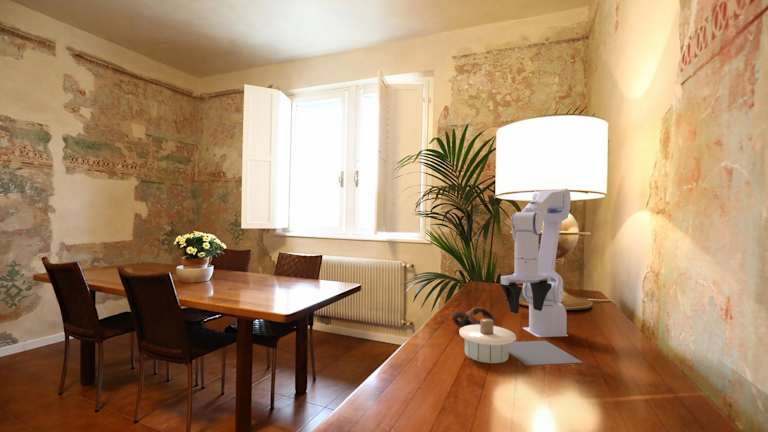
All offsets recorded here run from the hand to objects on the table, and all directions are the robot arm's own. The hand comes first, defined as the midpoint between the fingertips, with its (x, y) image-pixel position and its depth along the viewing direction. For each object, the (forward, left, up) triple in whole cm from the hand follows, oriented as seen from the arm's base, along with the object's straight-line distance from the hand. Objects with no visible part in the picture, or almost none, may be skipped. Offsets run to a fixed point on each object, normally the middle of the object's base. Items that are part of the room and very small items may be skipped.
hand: (526, 311), depth 87 cm
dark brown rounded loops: (+9, -13, -10) cm, 19 cm away
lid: (+13, +4, -4) cm, 14 cm away
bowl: (+13, +4, -9) cm, 16 cm away
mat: (0, +4, -9) cm, 10 cm away
